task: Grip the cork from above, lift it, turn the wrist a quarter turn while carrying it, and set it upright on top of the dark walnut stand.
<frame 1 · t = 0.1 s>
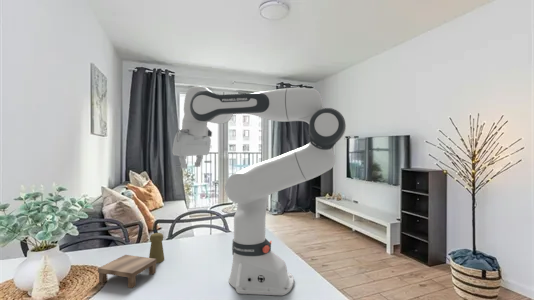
hand: (190, 167, 99), 39 cm above the table, tool pointing down, fingers open, 8 cm apart
walnut stand: (128, 277, 95), on the table
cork: (156, 260, 109), on the table
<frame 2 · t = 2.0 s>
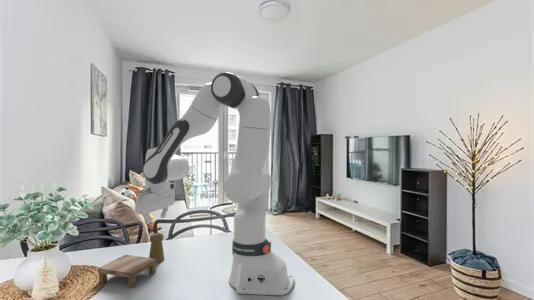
hand: (156, 220, 109), 16 cm above the table, tool pointing down, fingers open, 8 cm apart
nothing on the table moved.
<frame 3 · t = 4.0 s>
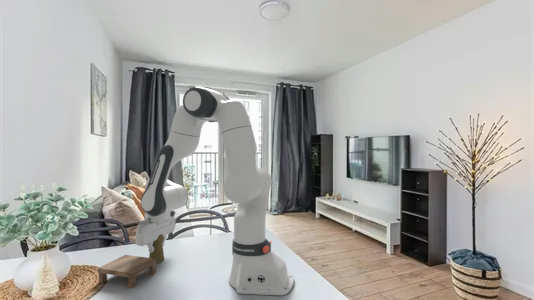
hand: (156, 249, 109), 5 cm above the table, tool pointing down, fingers closed on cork, 4 cm apart
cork: (156, 260, 109), on the table, touching gripper
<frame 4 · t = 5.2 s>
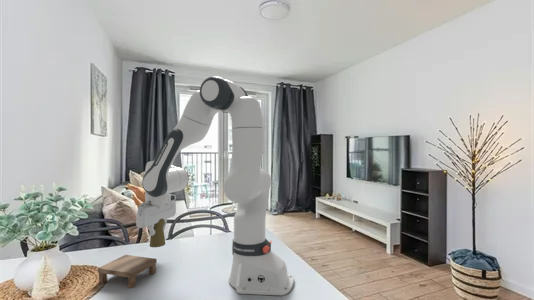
hand: (157, 232, 109), 11 cm above the table, tool pointing down, fingers closed on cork, 4 cm apart
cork: (157, 245, 109), point 6 cm above the table, touching gripper
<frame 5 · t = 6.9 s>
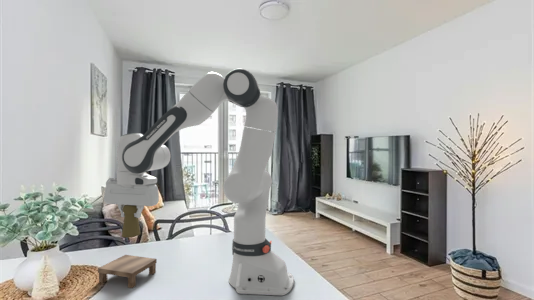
hand: (130, 217, 96), 21 cm above the table, tool pointing down, fingers closed on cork, 4 cm apart
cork: (131, 235, 96), point 15 cm above the table, touching gripper
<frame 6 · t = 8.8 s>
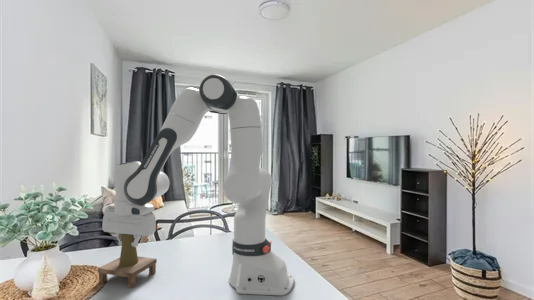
hand: (128, 245, 95), 11 cm above the table, tool pointing down, fingers closed on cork, 4 cm apart
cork: (128, 263, 95), point 5 cm above the table, touching gripper, walnut stand
when the fingers open (11 cm above the table, at t = 8.8 s): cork stays where it is, resting on walnut stand.
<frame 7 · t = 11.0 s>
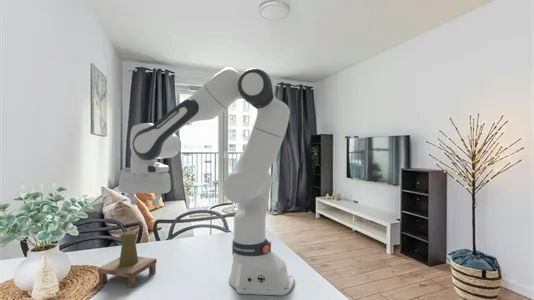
hand: (144, 204, 98), 25 cm above the table, tool pointing down, fingers open, 8 cm apart
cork: (128, 263, 95), point 5 cm above the table, touching walnut stand
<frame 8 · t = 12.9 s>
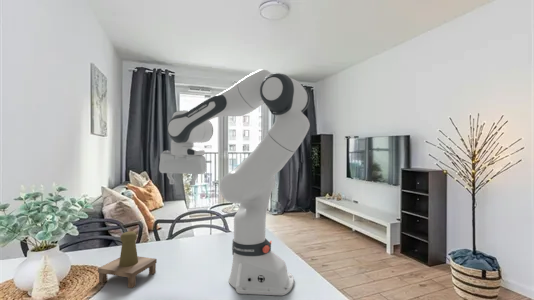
hand: (182, 184, 109), 31 cm above the table, tool pointing down, fingers open, 8 cm apart
nothing on the table moved.
at the end: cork inside the target area on the walnut stand (0.1 cm from its centre), point 4.8 cm above the walnut stand's base; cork tilted 0°; the gripper is holding nothing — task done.
